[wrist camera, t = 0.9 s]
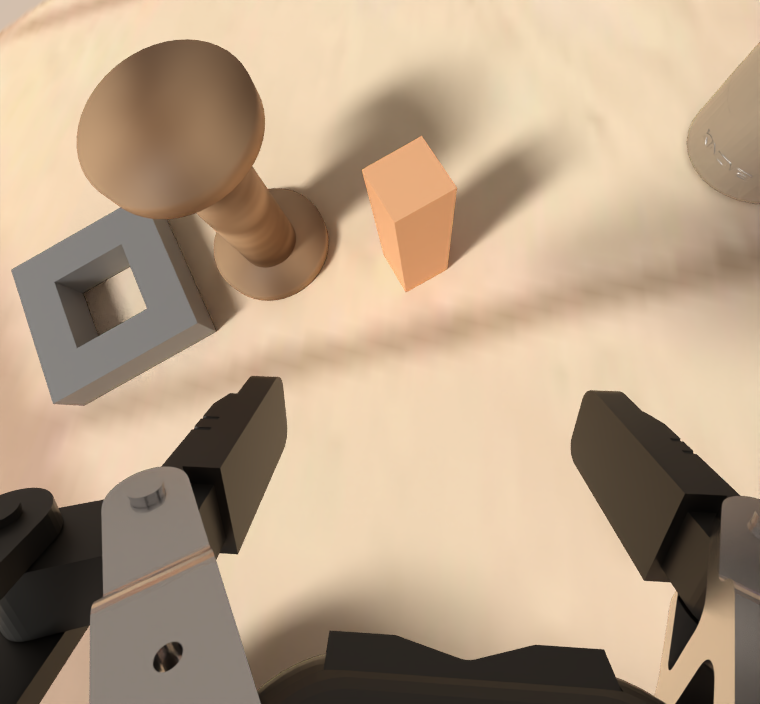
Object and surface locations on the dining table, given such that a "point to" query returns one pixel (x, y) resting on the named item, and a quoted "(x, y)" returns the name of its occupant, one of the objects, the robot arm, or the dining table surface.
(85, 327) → the block with square hole
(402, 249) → the orange rectangular block
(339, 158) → the dining table surface
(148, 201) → the bobbin
